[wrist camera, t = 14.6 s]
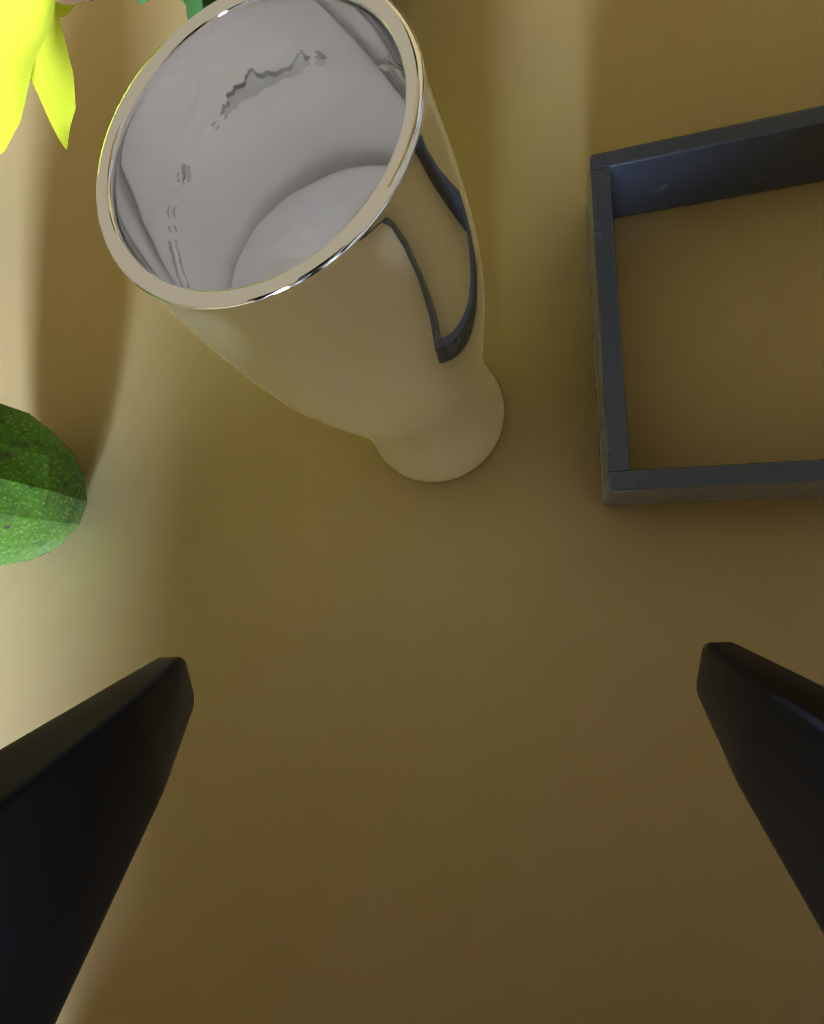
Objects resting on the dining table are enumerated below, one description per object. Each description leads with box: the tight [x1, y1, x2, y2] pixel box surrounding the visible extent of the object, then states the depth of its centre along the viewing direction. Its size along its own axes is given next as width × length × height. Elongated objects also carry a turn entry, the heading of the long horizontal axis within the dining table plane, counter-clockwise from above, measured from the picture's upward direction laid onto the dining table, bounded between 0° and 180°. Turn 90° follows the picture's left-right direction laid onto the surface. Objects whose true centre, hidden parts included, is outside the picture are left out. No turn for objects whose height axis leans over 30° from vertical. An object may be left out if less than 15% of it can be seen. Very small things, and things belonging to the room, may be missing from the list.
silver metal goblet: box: [96, 0, 504, 482], centre depth 16 cm, size 7×7×15 cm
